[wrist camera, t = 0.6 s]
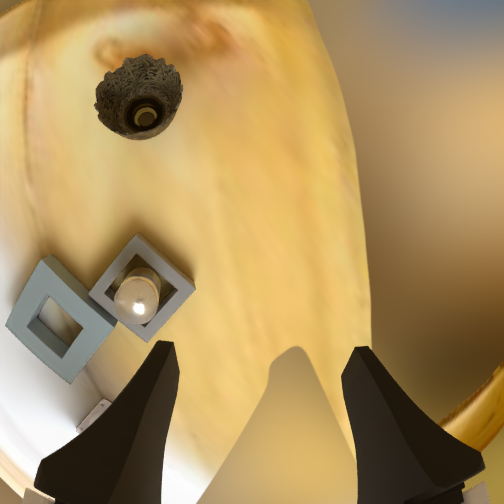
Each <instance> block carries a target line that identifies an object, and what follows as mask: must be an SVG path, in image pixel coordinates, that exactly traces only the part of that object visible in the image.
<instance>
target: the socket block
mask: <svg viewBox="0 0 504 504" xmlns="http://www.w3.org/2000/svg"><path fill="white" fill-rule="evenodd" d="M89 292H90V291H89V290H88V289H87V288H86V287H85V286H84V285H83V284H82V283H81V282H80V281H78V280H77V279H76V278H75V277H74V276H73V275H72V274H71V273H70V272H69V271H68V270H67V269H66V268H65V267H64V266H63V265H62V264H61V263H60V262H59V261H58V260H57V259H56V258H55V257H54V256H53V255H49V256H47V257H45V258H43V259H41V260H40V262H39V263H38V265H37V267H36V268H35V270H34V272H33V273H32V275H31V277H30V278H29V280H28V282H27V284H26V285H25V287H24V289H23V291H22V293H21V295H20V296H19V298H18V300H17V302H16V304H15V306H14V308H13V310H12V312H11V314H10V316H9V318H8V320H7V322H6V324H5V326H6V327H7V328H8V329H9V330H10V331H11V332H12V333H13V334H14V335H15V336H16V337H17V338H18V339H19V340H20V341H21V342H22V343H23V344H24V345H25V346H26V347H27V348H28V349H29V350H30V351H31V352H32V353H33V354H34V355H36V356H37V357H38V358H39V359H40V360H41V361H42V362H43V363H45V364H46V365H47V366H48V367H49V368H50V369H52V370H53V371H54V372H55V373H56V374H58V375H59V376H60V377H61V378H63V379H64V380H65V381H66V382H68V383H69V384H71V383H72V382H73V380H74V379H75V378H76V376H77V375H78V374H79V372H80V371H81V370H82V368H83V367H84V366H85V364H86V363H87V362H88V361H89V359H90V358H91V357H92V355H93V354H94V353H95V352H96V350H97V349H98V348H99V346H100V345H101V344H102V343H103V341H104V340H105V339H106V338H107V336H108V335H109V334H110V333H111V331H112V330H113V329H114V328H115V325H116V323H117V321H118V320H117V319H116V318H115V317H114V316H113V315H111V314H110V313H109V312H108V311H107V310H106V309H104V308H103V307H102V306H101V305H100V304H99V303H98V302H97V301H95V300H94V299H93V298H92V297H91V296H90V295H89ZM49 296H50V297H51V298H52V299H53V300H54V301H55V302H56V303H57V304H58V305H59V306H60V307H61V308H62V309H63V310H64V311H65V312H66V313H68V314H69V315H70V316H71V317H72V318H73V319H74V320H75V321H76V322H78V323H79V324H80V325H81V326H82V327H83V329H82V330H81V332H80V333H79V335H78V336H77V337H76V339H75V340H74V342H73V343H72V344H71V346H70V347H69V346H67V345H66V344H65V343H64V342H63V341H62V340H60V339H59V338H58V337H57V336H56V335H55V334H54V333H53V332H52V331H50V330H49V329H48V328H47V327H46V326H45V325H44V324H43V323H42V322H41V321H40V320H39V319H38V318H37V316H38V314H39V312H40V311H41V309H42V307H43V306H44V304H45V302H46V301H47V299H48V298H49Z"/></svg>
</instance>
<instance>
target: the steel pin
mask: <svg viewBox="0 0 504 504" xmlns="http://www.w3.org/2000/svg"><path fill="white" fill-rule="evenodd" d="M160 290H161V282H160V279H159V277H158V275H157V274H156V273H155V272H154V271H153V270H151V269H149V268H146V267H138V268H135V269H133V270H132V271H130V272H129V274H128V275H127V277H126V278H125V279H124V281H123V282H122V284H121V285H120V287H119V288H118V290H117V292H116V294H115V297H114V305H115V309H116V311H117V313H118V314H119V316H120V317H121V318H122V319H123V320H125V321H126V322H128V323H131V324H144V323H147V322H149V321H150V320H151V319H152V318H153V317H154V316H155V314H156V312H157V308H158V302H159V296H160Z"/></svg>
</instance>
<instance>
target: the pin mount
mask: <svg viewBox="0 0 504 504" xmlns="http://www.w3.org/2000/svg"><path fill="white" fill-rule="evenodd" d="M136 253H137V254H138V255H139V256H140V257H141V258H142V259H144V260H145V261H146V262H147V263H148V264H149V265H150V266H151V267H152V268H154V269H155V270H156V271H157V272H158V273H159V274H160V275H161V276H163V277H164V278H165V279H166V280H167V281H168V282H170V283H171V284H172V285H173V286H174V289H173V290H172V291H171V292H170V293H169V294H168V295H167V296H166V298H165V299H164V300H163V301H162V302H161V303H160V304H159V306H158V308H157V312H156V314H155V316H154V317H153V318H152V319H151V320H150V321H149V322H147V323H144V324H131V323H128V322H126V321H125V320H123V319H122V318H121V317H120V316H119V314H118V313H117V311H116V309H115V305H114V297H115V294H116V293H115V292H114V291H113V290H112V289H111V288H110V287H109V286H110V285H111V284H112V282H113V281H114V280H115V279H116V277H117V276H118V275H119V274H120V272H121V271H122V270H123V269H124V268H125V266H126V265H127V264H128V263H129V261H130V260H131V259H132V258H133V257H134V256H135V254H136ZM195 290H196V287H195V283H194V282H193V281H192V280H191V279H190V278H189V277H188V276H186V275H185V274H184V273H183V272H182V271H181V270H180V269H178V268H177V267H176V266H175V265H174V264H173V263H172V262H171V261H169V260H168V259H167V258H166V257H165V256H164V255H163V254H162V253H161V252H159V251H158V250H157V249H156V248H155V247H154V246H153V245H152V244H151V243H150V242H149V241H148V240H146V239H145V238H144V237H143V236H142V235H141V234H140V233H137V234H136V235H135V236H134V237H133V238H132V239H131V240H130V242H129V243H128V244H127V245H126V246H125V248H124V249H123V250H122V251H121V253H120V254H119V255H118V256H117V257H116V259H115V260H114V261H113V262H112V264H111V265H110V266H109V267H108V269H107V270H106V271H105V273H104V274H103V275H102V276H101V278H100V279H99V280H98V282H97V283H96V284H95V286H94V287H93V288H92V290H91V291H90V292H89V295H90V296H91V297H92V298H93V299H94V300H95V301H97V302H98V303H99V304H100V305H101V306H102V307H103V308H104V309H106V310H107V311H108V312H109V313H110V314H111V315H113V316H114V317H115V318H116V319H117V320H119V321H120V322H121V323H122V324H124V325H125V326H126V327H127V328H128V329H130V330H131V331H132V332H134V333H135V334H136V335H137V336H139V337H140V338H141V339H143V340H144V341H145V342H146V343H148V342H149V340H150V339H151V338H152V337H153V336H154V335H155V334H156V333H157V332H158V330H159V329H160V328H161V327H162V326H163V325H164V324H165V323H166V321H167V320H168V319H169V318H170V317H171V316H172V315H173V314H174V313H175V312H176V310H177V309H178V308H179V307H180V306H181V305H182V304H183V303H184V302H185V300H186V299H187V298H188V297H189V296H190V295H191V294H192V293H193V292H194V291H195Z"/></svg>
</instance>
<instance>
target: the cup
mask: <svg viewBox="0 0 504 504" xmlns="http://www.w3.org/2000/svg"><path fill="white" fill-rule="evenodd" d="M123 64H124V65H122V67H121V68H117V69H116V71H115V72H113V73H111V71H108V72H107V73H106V74H105V76H104V81H102V82H100V83H99V85H98V86H97V88H96V99H97V101H96V102H97V103H95V104H94V107H95V109H96V110H97V111H98V112H99V114H98V118H99V120H100V121H101V122H102V123H103V124H104V125H105V126H106V127H107V128H109V129H110V130H111V131H114V132H115V133H117V134H119V135H121V136H123V137H125V138H128V139H132V140H146V139H150V138H152V137H155V136H157V135H158V134H160V133H161V132H163V131H164V130H165V129H166V128H167V127H168V126H169V124H170V123H171V122H172V120H173V118H174V116H175V114H176V111H177V109H178V106H179V104H180V102H181V99H182V91H183V85H180V84H181V80H180V75H179V73H178V72H176V69H175V67H174V66H173V65H172V64H171V65H168V66H166V64H165V60H164V59H163V58H160V59H158V60H155V59H153V57H151V56H149V55H147V54H144V55H141V56H139V57H137V58H135V59H133V58H126V59H125V60H124V61H123ZM145 112H149V113H151V114H152V115H153V117H154V120H153V122H152V123H151V124H150V125H148V126H142V125H141V124H140V123H139V117H140V115H141V114H143V113H145Z"/></svg>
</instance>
